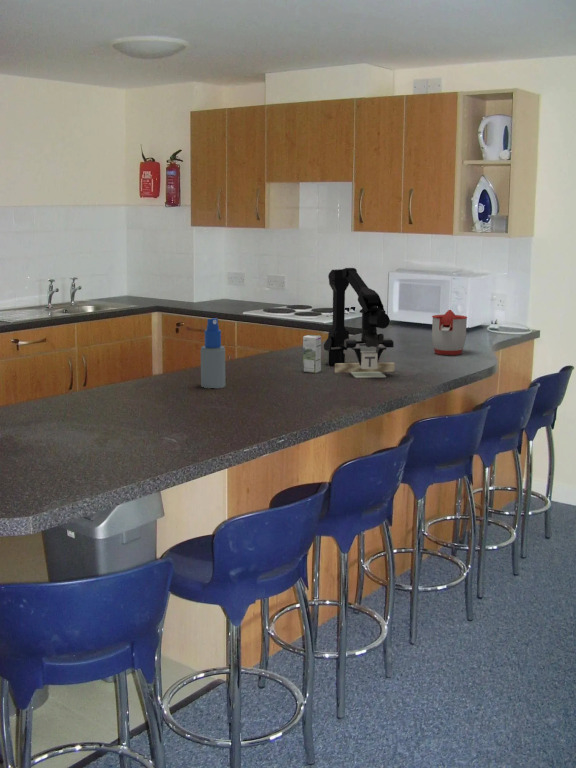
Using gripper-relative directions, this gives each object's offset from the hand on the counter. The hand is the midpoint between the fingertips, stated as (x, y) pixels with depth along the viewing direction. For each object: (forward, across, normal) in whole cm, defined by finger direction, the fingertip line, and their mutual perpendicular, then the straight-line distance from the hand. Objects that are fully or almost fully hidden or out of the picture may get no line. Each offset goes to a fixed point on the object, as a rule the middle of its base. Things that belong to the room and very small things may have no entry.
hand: (368, 364), depth 343 cm
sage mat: (+4, 0, 0) cm, 4 cm away
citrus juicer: (+4, +46, +47) cm, 66 cm away
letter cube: (+1, 0, 0) cm, 1 cm away
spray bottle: (+4, -61, -17) cm, 63 cm away
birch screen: (+4, 0, +7) cm, 8 cm away
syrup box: (+4, -21, +9) cm, 23 cm away
